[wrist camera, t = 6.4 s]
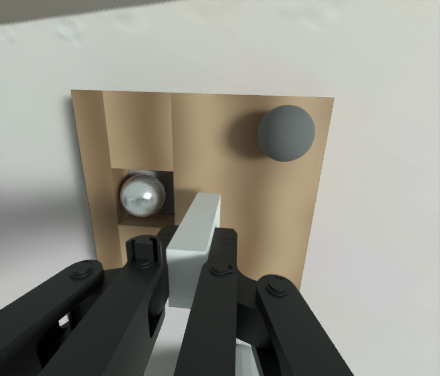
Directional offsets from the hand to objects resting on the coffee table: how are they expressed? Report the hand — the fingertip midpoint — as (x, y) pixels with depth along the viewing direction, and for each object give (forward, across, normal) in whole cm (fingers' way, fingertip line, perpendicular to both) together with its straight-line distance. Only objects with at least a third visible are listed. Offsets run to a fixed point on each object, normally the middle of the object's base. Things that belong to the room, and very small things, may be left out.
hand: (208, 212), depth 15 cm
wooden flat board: (+4, -1, 0) cm, 4 cm away
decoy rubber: (0, +4, +5) cm, 7 cm away
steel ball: (+2, -6, 0) cm, 6 cm away
